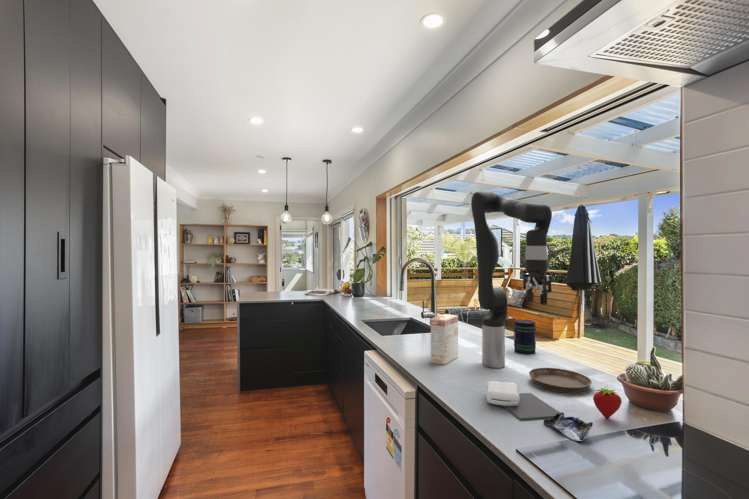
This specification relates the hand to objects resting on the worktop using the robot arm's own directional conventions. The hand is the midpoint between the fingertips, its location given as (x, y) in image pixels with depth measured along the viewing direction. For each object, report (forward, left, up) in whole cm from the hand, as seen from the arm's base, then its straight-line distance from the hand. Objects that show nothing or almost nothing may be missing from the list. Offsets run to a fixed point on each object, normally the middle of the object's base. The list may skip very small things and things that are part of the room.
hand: (536, 302), depth 138 cm
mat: (+16, -14, -30) cm, 37 cm away
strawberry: (+28, +5, -30) cm, 42 cm away
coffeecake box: (-37, -22, -30) cm, 53 cm away
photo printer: (+7, -17, -27) cm, 33 cm away
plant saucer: (0, +9, -31) cm, 32 cm away
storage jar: (-44, +21, -30) cm, 57 cm away
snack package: (+33, -12, -31) cm, 47 cm away
